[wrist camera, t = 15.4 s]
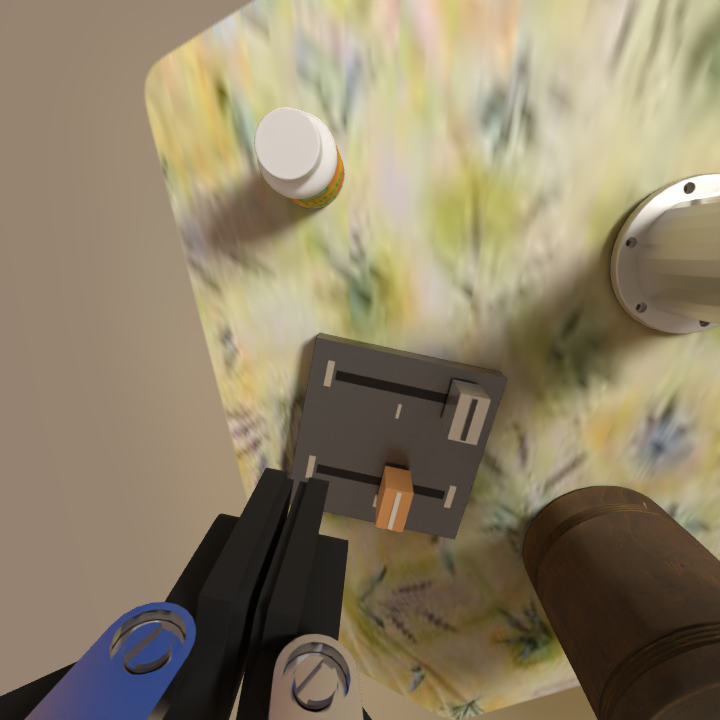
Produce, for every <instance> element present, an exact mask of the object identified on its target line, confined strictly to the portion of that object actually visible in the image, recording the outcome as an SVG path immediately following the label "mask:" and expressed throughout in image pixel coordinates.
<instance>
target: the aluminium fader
mask: <svg viewBox="0 0 720 720" xmlns="http://www.w3.org/2000/svg"><path fill="white" fill-rule="evenodd" d="M490 401H491V399H490V398H489V397H488V395H487V394H486V393H485V391H484V390H483V389H482V387H481V386H480V385H476V384H472V383H467V382H463V381H458V380H453V381H452V384H451V388H450V391H449V395H448V398H447V402H446V405H445V408H444V412H443V415H442V419H441V423H442V425H443V428H444V431H445V434H446V436H447V439H450V440H454V441H459V442H463V443H468V444H473V445H477V442H478V439H479V436H480V433H481V430H482V426H483V423H484V420H485V417H486V414H487V411H488V408H489V405H490Z"/></svg>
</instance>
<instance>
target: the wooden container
mask: <svg viewBox="0 0 720 720" xmlns="http://www.w3.org/2000/svg"><path fill="white" fill-rule="evenodd" d="M523 559H524V564H525V568H526V570H527V573H528V575H529V578H530V580H531V582H532V584H533V587H534V589H535V591H536V593H537V595H538V597H539V599H540V602H541V604H542V606H543V609H544V611H545V613H546V615H547V617H548V619H549V621H550V623H551V626H552V628H553V630H554V632H555V634H556V636H557V638H558V640H559V642H560V644H561V646H562V648H563V650H564V652H565V654H566V656H567V658H568V660H569V662H570V664H571V666H572V668H573V670H574V672H575V674H576V676H577V678H578V680H579V682H580V684H581V686H582V688H583V691H584V693H585V694H586V697H587V699H588V701H589V703H590V705H591V707H592V709H593V711H594V713H595V715H596V717H597V719H598V720H720V561H719V560H718V559H717V558H716V557H715V556H714V555H713V554H711V553H710V552H709V551H708V550H707V549H706V548H705V547H704V546H703V545H702V544H701V543H700V542H699V541H697V540H696V539H695V538H694V537H693V536H692V535H691V534H690V533H689V532H688V531H686V530H685V529H684V528H683V527H682V526H681V525H679V524H678V523H677V522H676V521H675V520H674V519H673V518H672V517H671V516H670V515H669V514H667V513H666V512H665V511H664V510H663V509H662V508H661V507H660V506H658V505H657V504H656V503H655V502H654V501H652V500H651V499H650V498H648V497H647V496H645V495H643V494H641V493H639V492H636V491H633V490H631V489H627V488H623V487H617V486H596V487H589V488H585V489H581V490H577V491H574V492H572V493H569V494H567V495H564V496H562V497H560V498H558V499H557V500H555V501H554V502H552V503H551V504H550V505H549V506H547V507H546V508H545V509H544V510H543V511H542V512H541V513H540V514H539V515H538V516H537V517H536V518H535V520H534V521H533V522H532V524H531V526H530V528H529V529H528V531H527V534H526V537H525V541H524V546H523Z"/></svg>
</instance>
